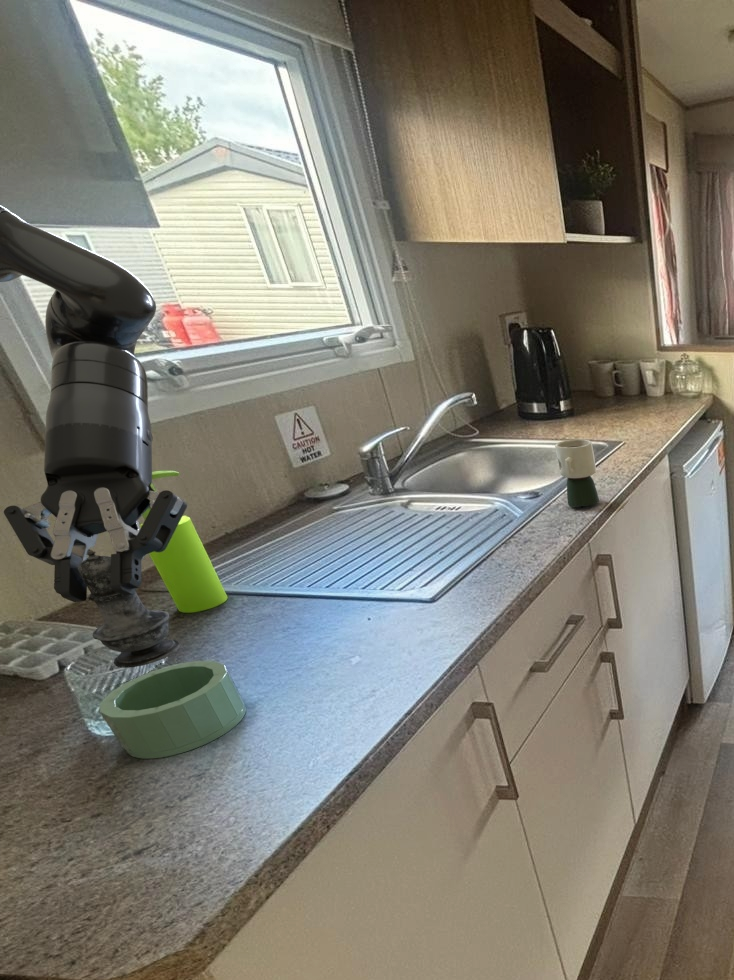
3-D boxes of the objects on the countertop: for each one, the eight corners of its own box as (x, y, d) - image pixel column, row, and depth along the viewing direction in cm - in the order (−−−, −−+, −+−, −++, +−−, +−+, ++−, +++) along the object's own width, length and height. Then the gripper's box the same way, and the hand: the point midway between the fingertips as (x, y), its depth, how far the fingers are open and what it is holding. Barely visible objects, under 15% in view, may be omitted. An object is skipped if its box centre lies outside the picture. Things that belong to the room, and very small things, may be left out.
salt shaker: (95, 665, 67) (28, 558, 61) (156, 636, 72) (100, 535, 66) (138, 672, 66) (74, 564, 60) (198, 642, 71) (144, 540, 65)
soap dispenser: (242, 597, 101) (184, 471, 92) (188, 616, 96) (120, 484, 87) (225, 588, 104) (166, 465, 95) (171, 607, 99) (103, 478, 89)
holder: (105, 769, 67) (77, 727, 65) (152, 711, 76) (129, 671, 73) (227, 744, 71) (204, 703, 68) (259, 691, 79) (240, 653, 77)
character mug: (575, 496, 142) (564, 436, 136) (608, 496, 142) (598, 436, 136) (558, 514, 132) (546, 450, 126) (593, 514, 132) (583, 450, 126)
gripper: (-23, 427, 62) (-34, 596, 58) (160, 413, 66) (163, 570, 62) (42, 466, 69) (37, 620, 65) (204, 452, 73) (209, 595, 69)
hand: (99, 595), depth 63 cm, fingers closed on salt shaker, 3 cm apart
